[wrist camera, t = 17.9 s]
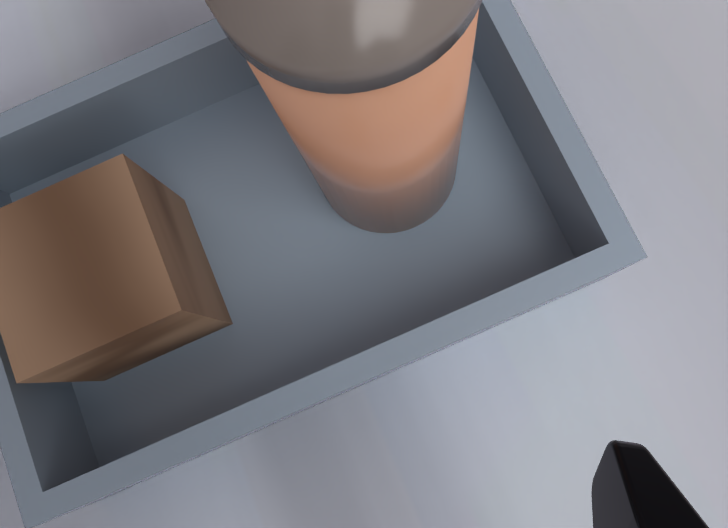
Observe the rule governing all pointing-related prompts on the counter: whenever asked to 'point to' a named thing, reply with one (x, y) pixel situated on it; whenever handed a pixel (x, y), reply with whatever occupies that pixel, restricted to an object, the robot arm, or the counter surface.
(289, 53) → the shaker
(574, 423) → the counter surface
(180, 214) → the cube
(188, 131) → the tote
